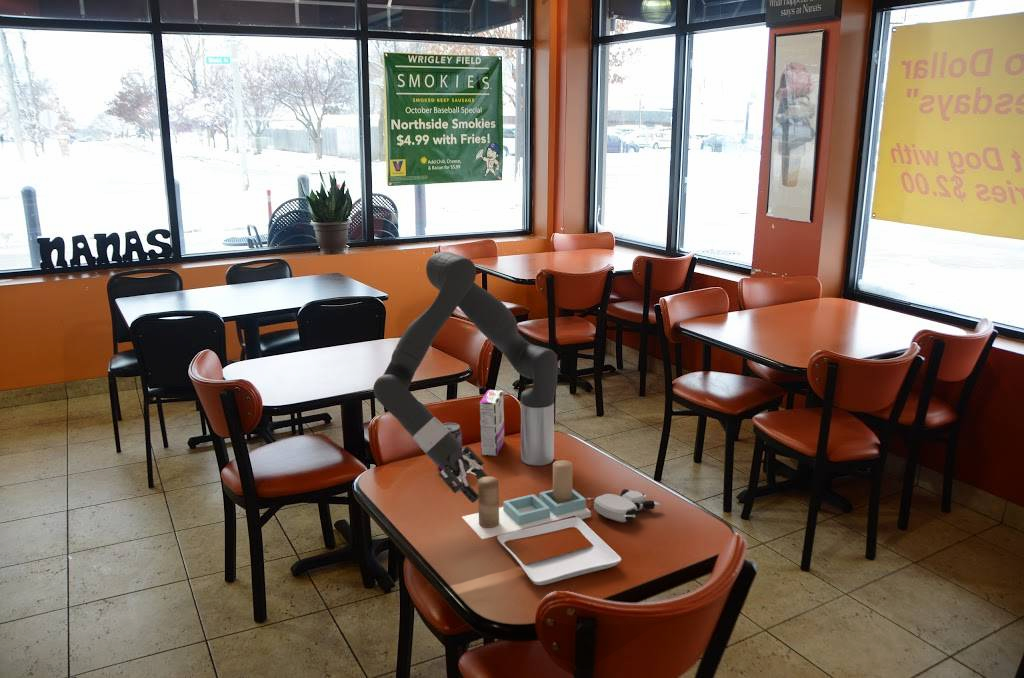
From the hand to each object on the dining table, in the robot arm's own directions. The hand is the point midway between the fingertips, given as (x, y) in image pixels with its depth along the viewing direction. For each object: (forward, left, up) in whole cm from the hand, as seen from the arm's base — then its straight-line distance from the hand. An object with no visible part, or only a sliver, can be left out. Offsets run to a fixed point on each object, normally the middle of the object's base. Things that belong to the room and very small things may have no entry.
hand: (482, 492), depth 191 cm
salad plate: (+20, +9, -10) cm, 24 cm away
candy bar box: (-42, +22, -10) cm, 48 cm away
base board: (+1, +11, -9) cm, 14 cm away
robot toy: (+9, +34, -10) cm, 36 cm away
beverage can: (-36, +6, -10) cm, 38 cm away
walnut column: (+1, +1, -8) cm, 8 cm away
